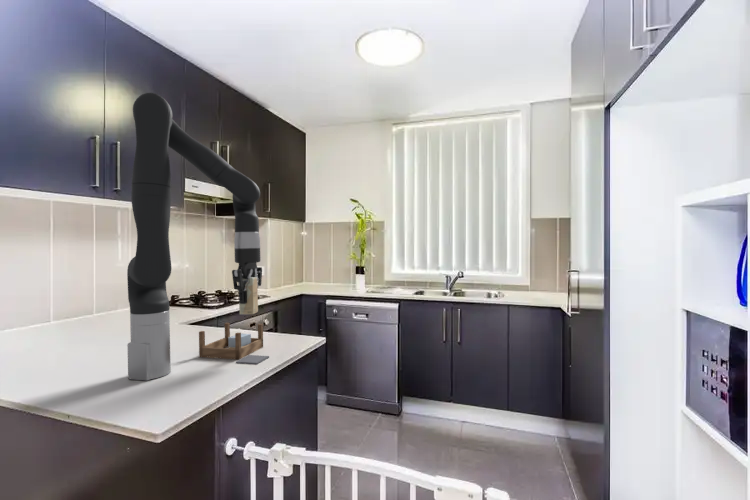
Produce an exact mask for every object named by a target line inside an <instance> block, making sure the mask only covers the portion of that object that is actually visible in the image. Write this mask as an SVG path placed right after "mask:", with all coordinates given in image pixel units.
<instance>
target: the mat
mask: <svg viewBox="0 0 750 500" xmlns="http://www.w3.org/2000/svg"><path fill="white" fill-rule="evenodd" d="M269 358H270V356H269V355H258V354H256V355H255V354H249V355H247V356H245V357H243V358H241V359H239V360H238V359H237V361H236V360H235V364H247V365H258V364H261V363H263V361H265V360H267V359H269Z"/></svg>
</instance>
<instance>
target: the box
mask: <svg viewBox="0 0 750 500" xmlns="http://www.w3.org/2000/svg"><path fill="white" fill-rule="evenodd" d="M243 280H246V279H243ZM243 286H244V284H243ZM258 289H259V287H258V288H257V277H251V278H250V283H249V284H248V286H247V290H246V291H247V303H245V304H240V303H239V302H238V303H239V304H238V305H239V306H238V307H239V310H238V311H239V315H255V314H256V313H258V312H259V296H258Z"/></svg>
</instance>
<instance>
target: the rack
mask: <svg viewBox="0 0 750 500" xmlns="http://www.w3.org/2000/svg"><path fill="white" fill-rule="evenodd" d="M230 323H231V322H224V337H223V338H220V339H218V340H216V341H213V342H210V343H208V344H206V334H205V333H206V332H205V331H204V330H200V331H198V353H199V354H198V356H199V357H198V358H207V359H208V358H209V359H221V360H222V359H224V360H225V359H226V360H237V361H238V360H240V359H242V358H244V357H246V356H248V355H252V354H254V352H256V351H258V350H260V349H263V348H264V323H258V324H257V337H251V343H250V344H248V345H246V346H243V347H241V333H242V332H235V334H234V335H235V349H229V348H228V337H231V326H230V325H231V324H230Z"/></svg>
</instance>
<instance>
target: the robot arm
mask: <svg viewBox="0 0 750 500" xmlns="http://www.w3.org/2000/svg"><path fill="white" fill-rule="evenodd" d="M132 115H133V119H134V127H135V139H136V140H135V144H136V146H135V153H134V157H133V158H134V160H133V163H132V164H133V165H132V176H131V191H130V193H131V195H130V196H131V209H132V213H133V218H134V222H135V226H136V227H135V228H136V235H137V236H136V237H137V239H136V240H137V241H136V249H135V251H136V252H135V256H134V257H133V258H131V260H130V261H129V262H128V266H127V294H128V295H127V297H128V299H127V300H128V304H129V313H130V314H129V319H130V320H129V321H130V341H129V342H128V343H127V345H126V346H127V378H128V380H133V381H134V380H137V381H150V380H152V379H158V378H162V377H164V376H167V375H169V374H170V373H171V370H172V369H171V368H172V367H171V365H172V364H171V330H170V329H171V328H170V327H171V326H170V325H171V323H170V321H171V320H170V319H171V317H170V314H171V313H170V309H171V308H170V300H169V297H168V294H167V281H169V279H170V277H171V274H172V261H171V250H170V249H171V248H170V237H169V232H170V222H171V207H172V205H171V204H172V175H171V164H170V157H169V155H170V153H169V148H170V149H172V150H173V151H174V152H176V153H177V154H178V155H179V156H181V157H183V158H184V159H185V160H186V161H188V162H189V163H190V164H191V165H193V167H195V168H196V169H197V170H199V171H200V172H201V173H202V174H203V175H205V176H206V177H207V178H209V180H211V181H212V182H213V183H214V184H215V185H217V186H220V187H222V188H225V189H226V190H227V191H229V192H230V193H231V194H232V206H233V212H234V239H233V242H234V243H233V244H234V245H233V246H234V262H235V263H236V264H238V267H237V269H233V270H231V275H232V283H233V290H236V291H237V292H238V301H239V302H238V303H240V304H245V303H247V291H246V290H247V286H248V284H249V283H250V278H251V277H257V288H258V289H259V287H261V286H262V278H263V267H262V266H261V267H260V266H257V263H260V262H261V237H260V222H259V216H258V215H257V211H256V210H257V209H256V208H257V207H256V203H257V202H258V200H259V199H260V197H261V191H260V187H259V186H258V185H257V183H256V182H255V181H253V179H251V178H250V177H248V176H246V175H245V174H243V173H242V172H241V171H239V170H237V169H235V168H234V167H233V166H232V165H231V164H229V162H227V161H226V160H225V159H224V158H223V157H222V156H221V155H220V154H218V153H217V152H215V151H214V150H212V148H210V147H208V146H206V144H203V143H201V142H200V141H198V140H197V139H195V138H193V137H192V136H190V135H189V134H188V133H187V132H186V131H185V130H184V129H182V128H181V127H180V125H178V123H177V122H175V120H174V119H173V110H172V107H171V105H170V104H169V103H168V101H167V100H166V99H165V98H164V97H163V96H162V95H159V94H157V93H155V92H145V93H143V94H140V95H139V96H138V97H137V98H136V99H135V101H134V102H133V105H132ZM243 279H246V280H243ZM243 284H244V286H243Z"/></svg>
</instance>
